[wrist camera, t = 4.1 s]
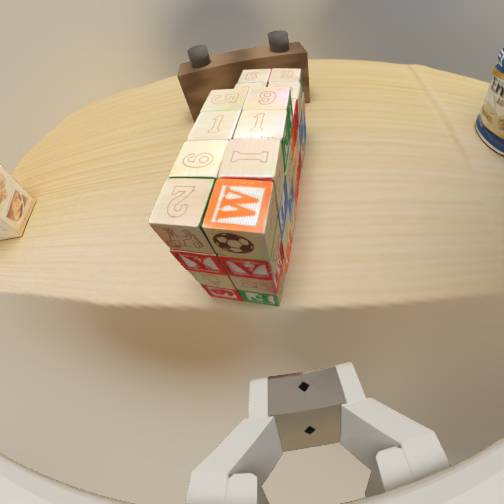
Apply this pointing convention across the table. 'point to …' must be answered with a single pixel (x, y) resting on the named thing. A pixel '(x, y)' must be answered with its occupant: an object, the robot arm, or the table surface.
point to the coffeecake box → (13, 206)
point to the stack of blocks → (238, 187)
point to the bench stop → (237, 68)
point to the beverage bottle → (494, 110)
